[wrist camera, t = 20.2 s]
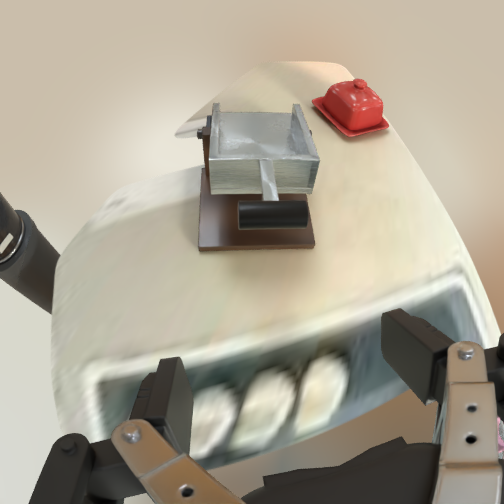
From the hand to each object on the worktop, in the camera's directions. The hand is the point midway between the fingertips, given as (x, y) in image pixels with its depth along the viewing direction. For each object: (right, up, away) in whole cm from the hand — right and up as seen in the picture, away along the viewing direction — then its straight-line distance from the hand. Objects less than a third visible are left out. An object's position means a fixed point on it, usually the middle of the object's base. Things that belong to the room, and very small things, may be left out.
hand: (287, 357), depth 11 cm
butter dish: (+17, +29, +41) cm, 53 cm away
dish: (-1, +13, +21) cm, 25 cm away
